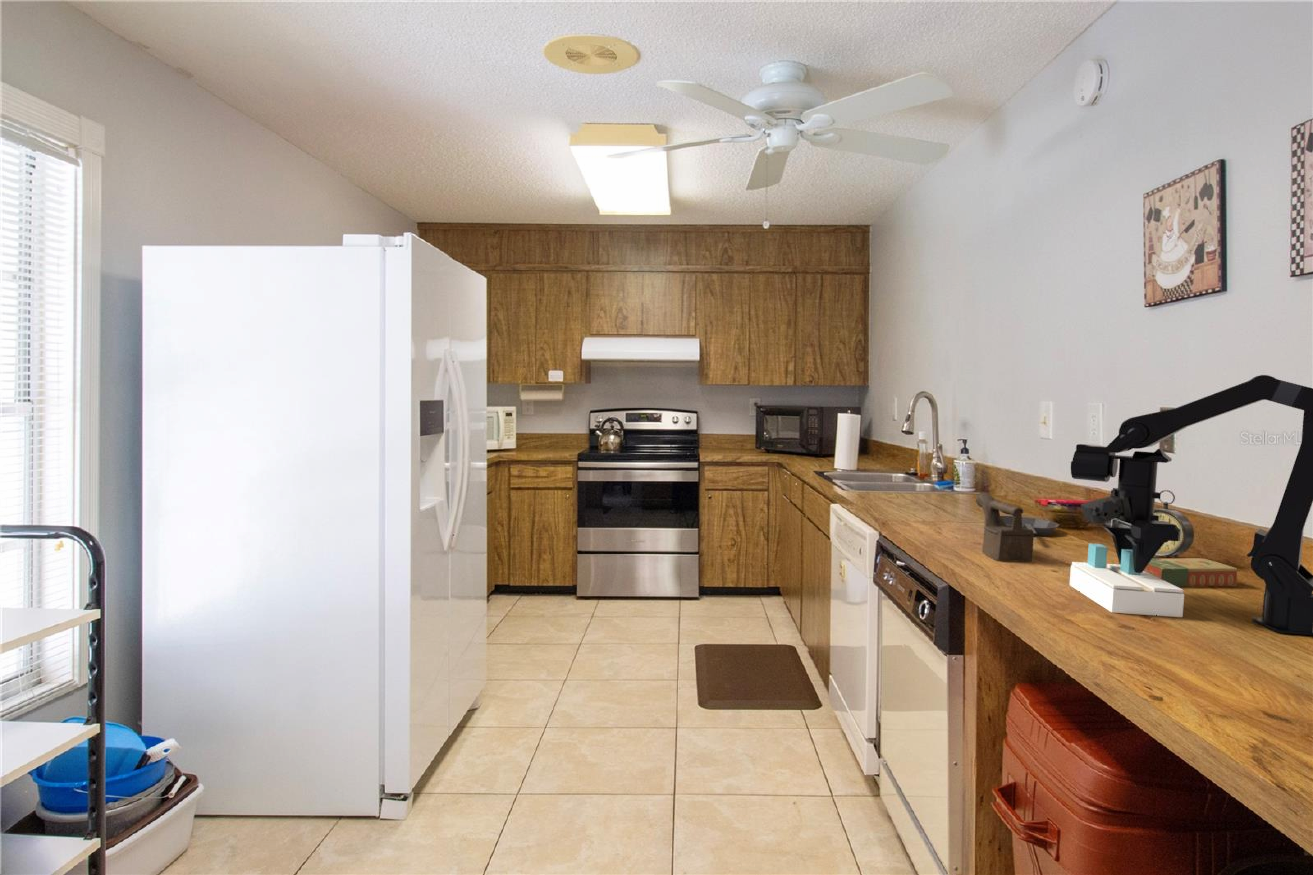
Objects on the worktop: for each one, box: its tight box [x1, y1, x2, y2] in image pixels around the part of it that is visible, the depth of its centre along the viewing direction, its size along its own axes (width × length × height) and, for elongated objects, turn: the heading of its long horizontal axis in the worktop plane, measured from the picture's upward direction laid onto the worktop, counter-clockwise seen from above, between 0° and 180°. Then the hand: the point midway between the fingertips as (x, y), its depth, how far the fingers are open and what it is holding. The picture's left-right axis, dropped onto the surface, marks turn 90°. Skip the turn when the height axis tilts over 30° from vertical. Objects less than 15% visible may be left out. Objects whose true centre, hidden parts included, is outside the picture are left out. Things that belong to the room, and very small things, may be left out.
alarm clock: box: [1154, 489, 1195, 558], centre depth 159 cm, size 11×5×16 cm, turn 25°
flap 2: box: [1106, 549, 1184, 594], centre depth 126 cm, size 17×4×4 cm, turn 171°
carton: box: [1144, 557, 1238, 588], centre depth 142 cm, size 8×16×4 cm, turn 94°
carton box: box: [1069, 564, 1185, 618], centre depth 127 cm, size 17×11×4 cm, turn 171°
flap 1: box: [1071, 542, 1143, 590], centre depth 127 cm, size 17×4×4 cm, turn 171°
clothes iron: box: [975, 491, 1035, 562], centre depth 161 cm, size 8×16×13 cm, turn 1°
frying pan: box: [1000, 515, 1060, 537], centre depth 185 cm, size 18×32×4 cm, turn 159°
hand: (1130, 568), depth 128 cm, fingers open, 5 cm apart
